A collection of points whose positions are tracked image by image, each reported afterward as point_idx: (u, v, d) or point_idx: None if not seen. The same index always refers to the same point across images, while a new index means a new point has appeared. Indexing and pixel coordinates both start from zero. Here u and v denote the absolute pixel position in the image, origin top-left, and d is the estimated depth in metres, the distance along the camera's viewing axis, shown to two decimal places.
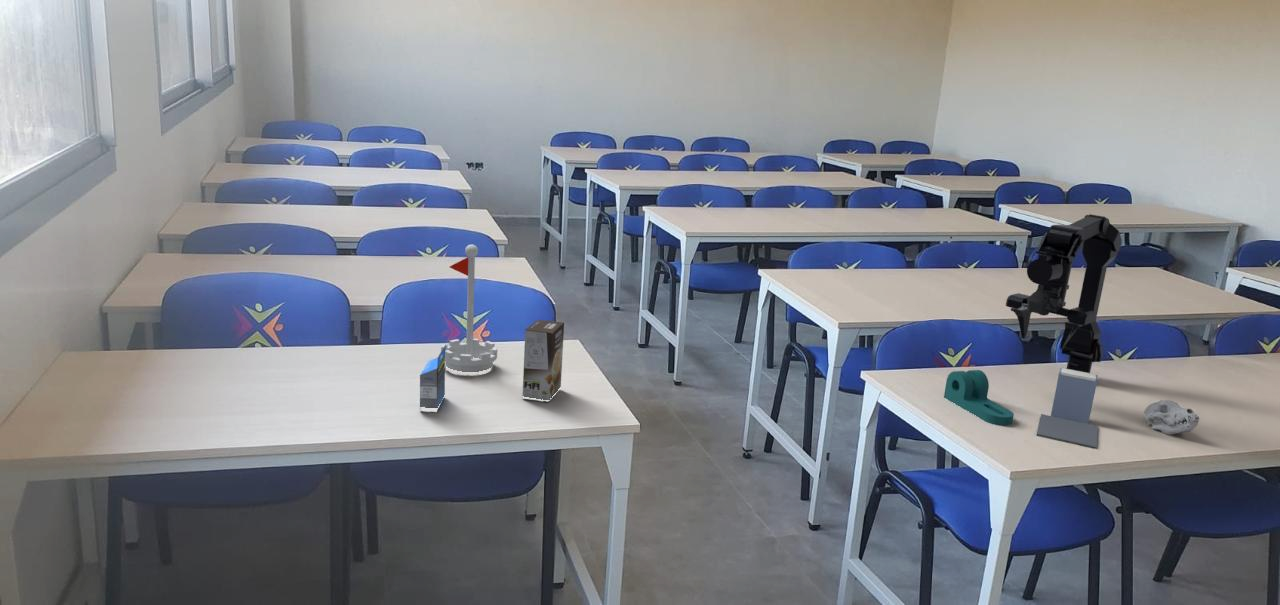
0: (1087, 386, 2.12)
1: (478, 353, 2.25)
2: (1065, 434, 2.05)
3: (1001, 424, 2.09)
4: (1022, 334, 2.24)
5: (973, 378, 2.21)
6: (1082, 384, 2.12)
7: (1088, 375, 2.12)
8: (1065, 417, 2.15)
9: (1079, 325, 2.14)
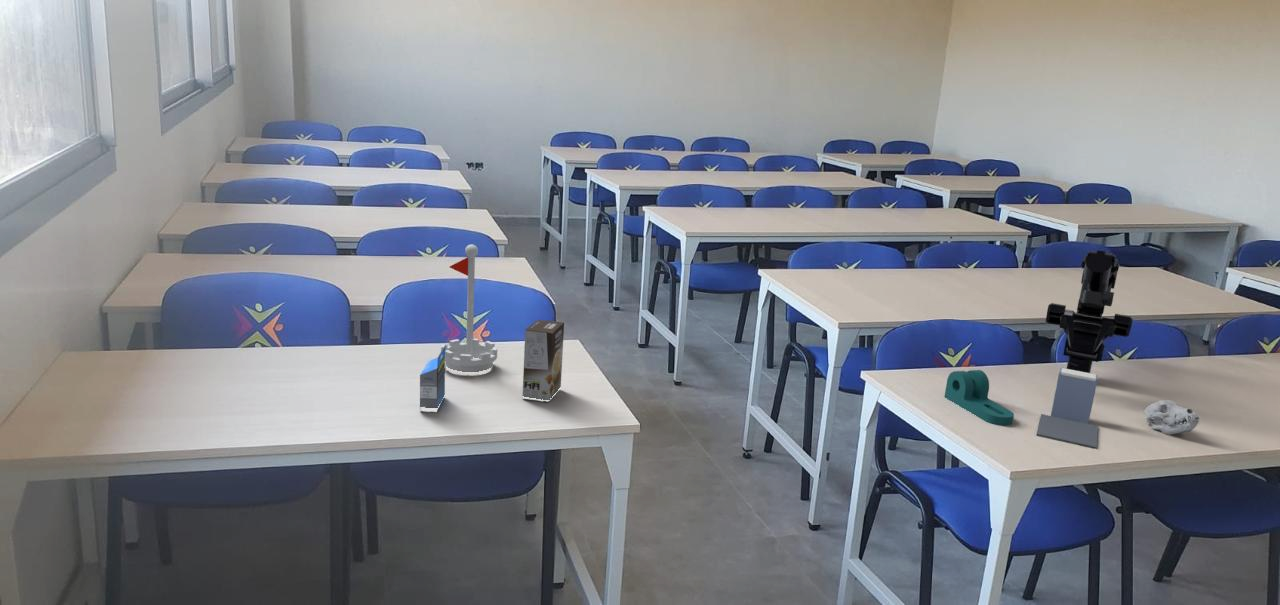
0: (1087, 386, 2.12)
1: (478, 353, 2.25)
2: (1065, 434, 2.05)
3: (1001, 424, 2.09)
4: (1071, 341, 2.25)
5: (974, 378, 2.21)
6: (1082, 384, 2.12)
7: (1088, 375, 2.12)
8: (1065, 417, 2.15)
9: None
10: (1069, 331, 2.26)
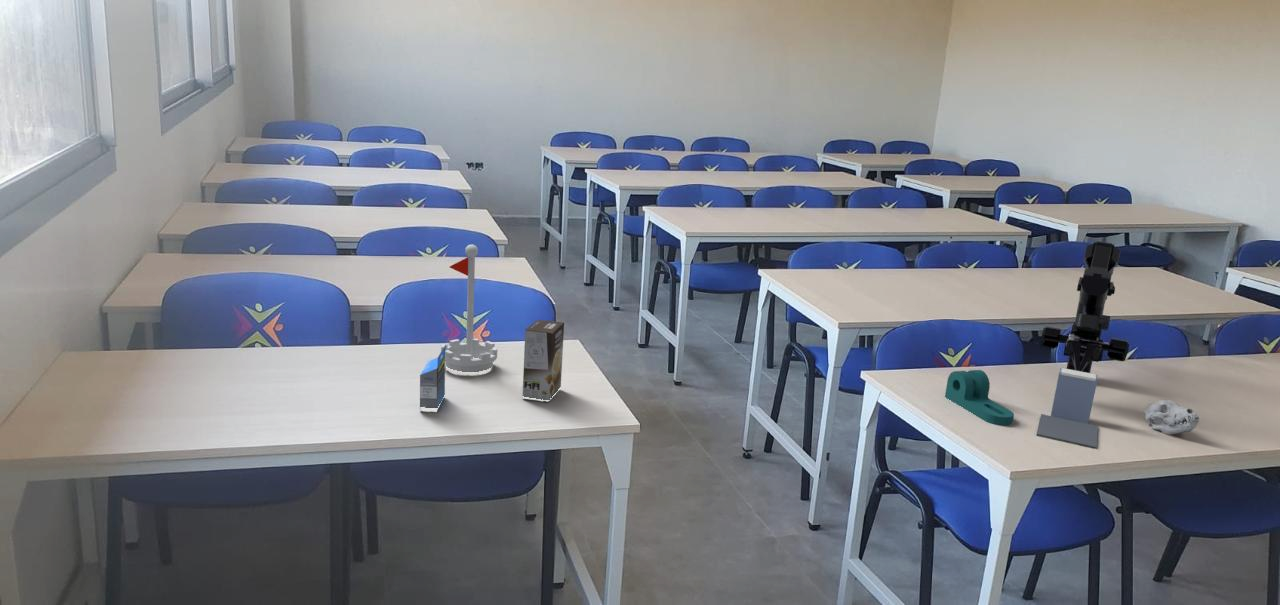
0: (1087, 386, 2.12)
1: (478, 353, 2.25)
2: (1065, 434, 2.05)
3: (1001, 424, 2.09)
4: (1077, 368, 2.19)
5: (974, 378, 2.21)
6: (1082, 384, 2.12)
7: (1088, 375, 2.12)
8: (1065, 417, 2.15)
9: (1100, 348, 2.19)
10: (1075, 357, 2.20)
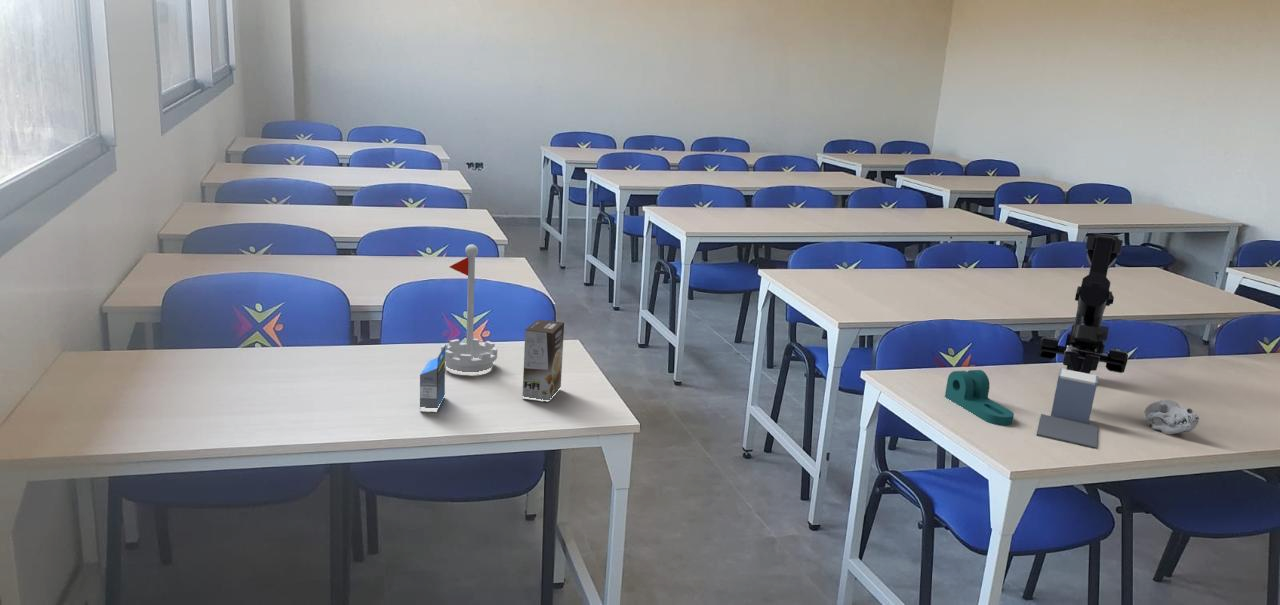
0: (1087, 389, 2.10)
1: (478, 353, 2.25)
2: (1065, 434, 2.05)
3: (1001, 424, 2.09)
4: None
5: (974, 378, 2.21)
6: (1082, 387, 2.10)
7: (1088, 378, 2.10)
8: (1065, 417, 2.15)
9: (1098, 360, 2.15)
10: (1073, 369, 2.16)
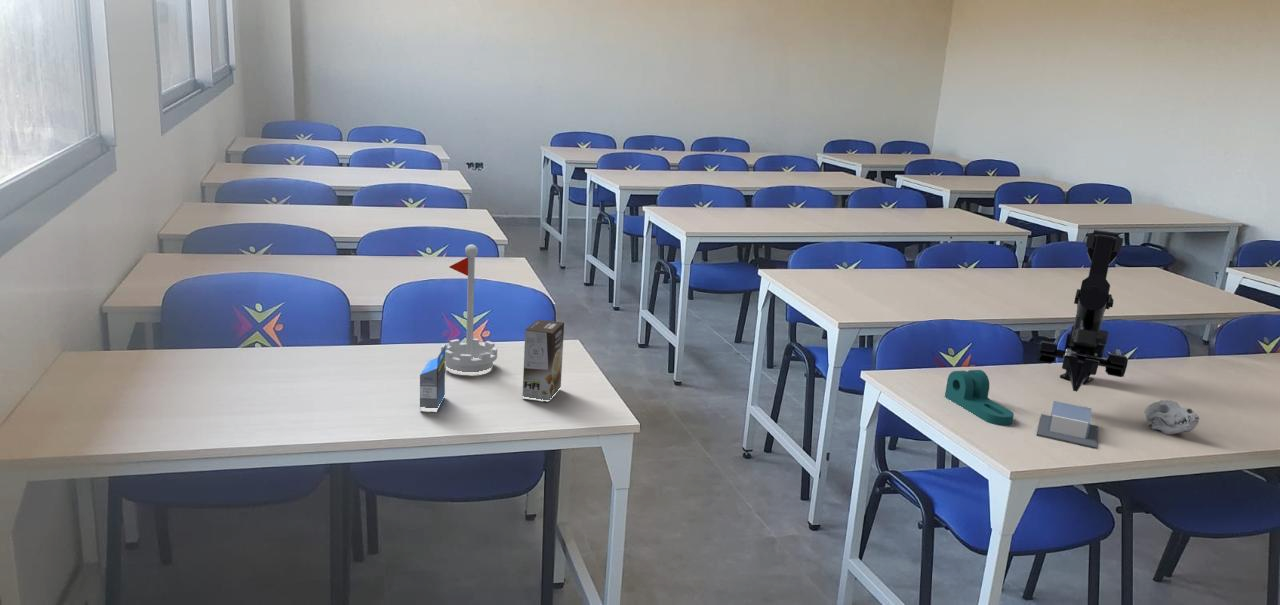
0: None
1: (478, 353, 2.25)
2: (1065, 434, 2.05)
3: (1001, 424, 2.09)
4: (1074, 384, 2.12)
5: (974, 378, 2.21)
6: None
7: (1078, 431, 2.04)
8: None
9: (1098, 364, 2.12)
10: (1072, 373, 2.13)
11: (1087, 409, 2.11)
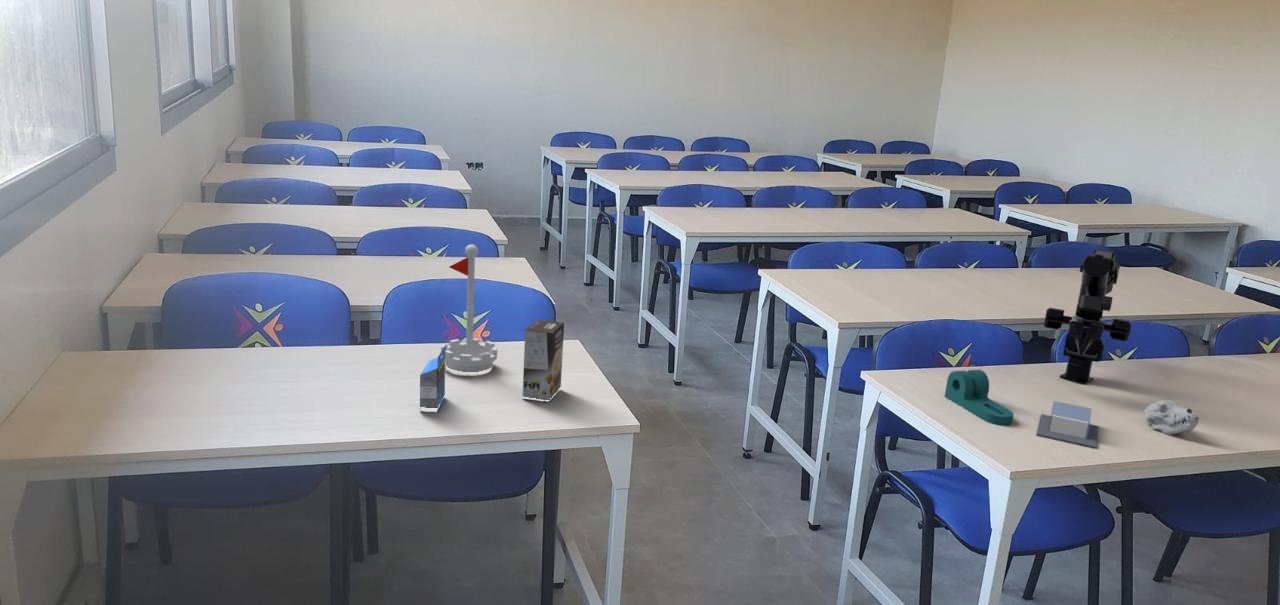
0: None
1: (478, 353, 2.25)
2: (1065, 434, 2.05)
3: (1001, 424, 2.09)
4: (1080, 348, 2.23)
5: (974, 378, 2.21)
6: None
7: (1078, 431, 2.04)
8: None
9: (1103, 329, 2.23)
10: (1078, 338, 2.24)
11: (1087, 409, 2.11)
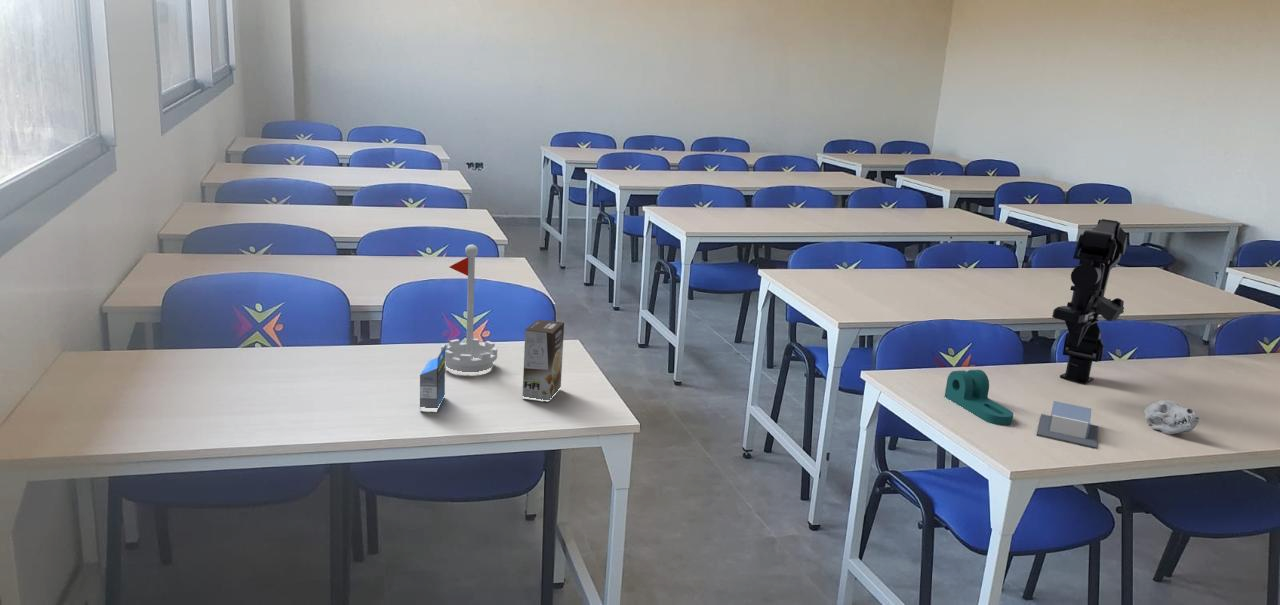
0: None
1: (478, 353, 2.25)
2: (1065, 434, 2.05)
3: (1000, 424, 2.09)
4: (1078, 342, 2.26)
5: (974, 378, 2.21)
6: None
7: (1078, 431, 2.04)
8: None
9: (1094, 319, 2.27)
10: (1080, 334, 2.25)
11: (1087, 409, 2.11)
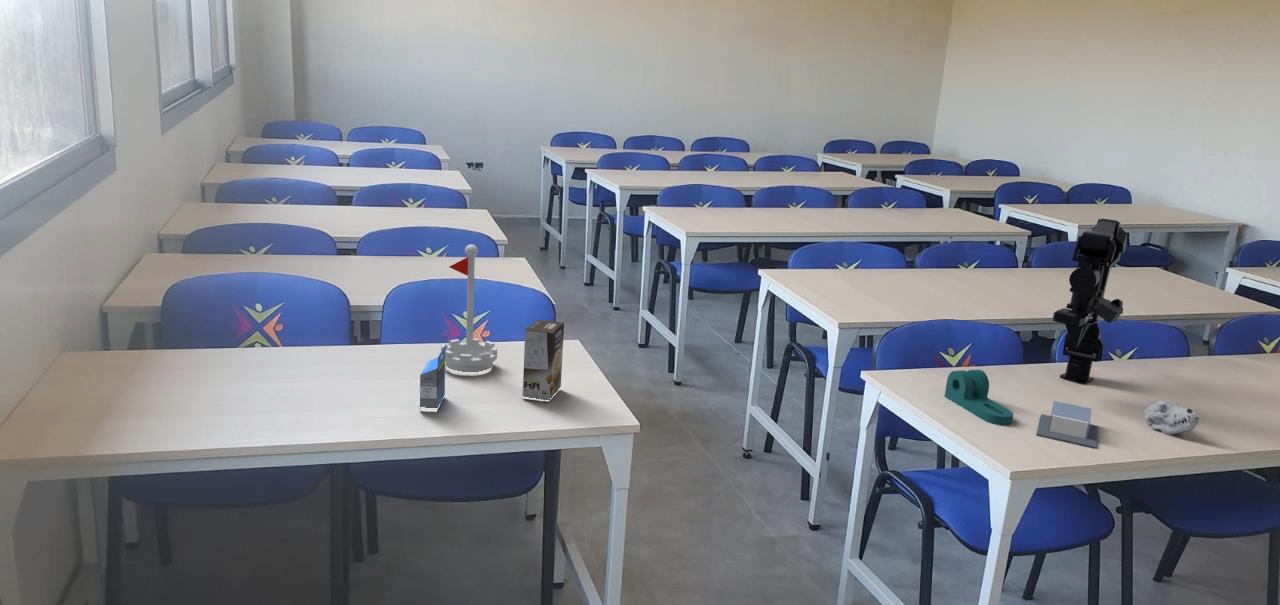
0: None
1: (478, 353, 2.25)
2: (1065, 434, 2.05)
3: (1000, 423, 2.09)
4: (1078, 343, 2.26)
5: (974, 378, 2.21)
6: None
7: (1078, 431, 2.04)
8: None
9: (1093, 319, 2.27)
10: (1080, 335, 2.25)
11: (1087, 409, 2.11)
